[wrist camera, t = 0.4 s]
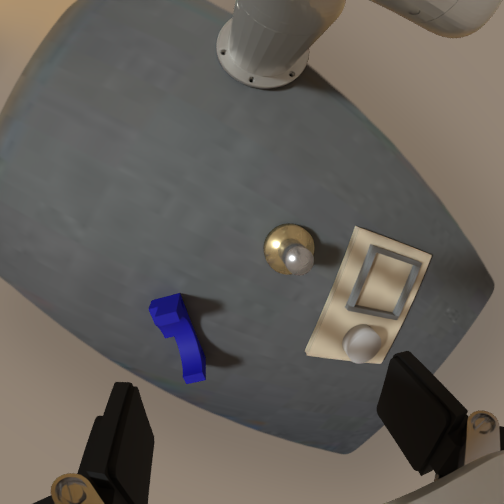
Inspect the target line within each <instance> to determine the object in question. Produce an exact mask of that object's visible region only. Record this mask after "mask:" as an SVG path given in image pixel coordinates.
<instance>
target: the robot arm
mask: <svg viewBox="0 0 504 504" xmlns="http://www.w3.org/2000/svg"><path fill="white" fill-rule="evenodd" d="M370 1H372V2H374V3H376V4H379V5H380V6H383V7H385V8H387V9H389V10H391V11H393V12H395V13H397V14H398V15H400V16H402V17H404V18H406V19H408V20H409V21H411V22H413V23H415V24H417V25H418V26H420V27H422V28H424V29H426V30H428V31H430V32H432V33H434V34H436V35H439V36H442V37H447V38H461V37H465V36H468V35H470V34H472V33H474V32H476V31H477V30H479V29H480V28H481V27H482V26H484V25H485V24H486V23H487V22H488V20H489V19H490V18H491V17H492V16H493V14H494V13H495V12H496V10H497V9H498V7H499V5H500V4H501V2H502V0H370ZM345 3H346V0H236V3H235V8H234V13H233V18H232V19H230V20H229V21H228V22H227V23H226V24H225V25H224V26H223V27H222V29H221V31H220V33H219V35H218V39H217V46H216V47H217V56H218V59H219V62H220V63H221V65H222V67H223V69H224V70H225V71H226V72H227V73H228V74H229V75H230V76H231V77H232V78H234V79H235V80H236V81H238V82H240V83H242V84H244V85H247V86H250V87H254V88H259V89H271V88H278V87H281V86H284V85H286V84H288V83H290V82H292V81H293V80H295V79H296V78H297V77H298V76H299V75H300V74H301V73H302V72H303V70H304V69H305V67H306V65H307V62H308V59H309V47H310V46H311V45H312V44H313V43H314V42H315V41H316V40H317V39H318V38H319V37H320V36H321V35H322V34H323V33H324V32H325V31H326V30H327V29H328V28H329V27H330V26H331V25H332V24H333V23H334V22H335V21H336V20H337V18H338V17H339V16H340V14H341V13H342V11H343V9H344V6H345ZM222 53H225V55H222ZM289 74H291V75H292V77H291V76H289ZM249 80H253V82H250V81H249ZM467 412H468V411H467V409H466V408H465V407H464V406H463V405H462V404H461V403H460V402H459V401H458V400H457V399H456V398H455V397H454V396H453V395H452V394H451V393H450V392H449V391H448V390H447V389H446V388H445V387H444V386H443V385H442V383H441V382H439V380H437V378H436V377H435V376H434V375H433V374H432V373H431V372H430V371H429V370H428V369H427V368H426V367H425V366H424V365H423V364H422V363H421V362H420V361H419V360H418V359H417V358H416V357H415V356H414V355H413V354H412V353H411V352H409V351H405V352H401V353H397V354H395V355H394V356H393V358H392V359H391V360H390V363H389V366H388V370H387V374H386V378H385V381H384V385H383V388H382V392H381V395H380V399H379V402H378V405H377V413H378V415H379V417H380V418H381V420H382V421H383V423H384V425H385V426H386V428H387V429H388V431H389V432H390V434H391V435H392V437H393V438H394V439H395V441H396V443H397V444H398V446H399V447H400V449H401V451H402V452H403V454H404V455H405V457H406V458H407V460H408V461H409V463H410V464H411V466H412V467H413V469H414V470H416V471H419V473H420V475H421V476H422V475H424V474H426V473H428V472H430V471H432V470H434V471H435V473H436V474H435V479H434V482H432V483H430V484H428V485H426V486H424V487H422V488H420V489H418V490H416V491H414V492H411V493H409V494H407V495H404V496H402V497H400V498H397V499H395V500H392V501H390V502H387V503H384V504H504V427H501V426H499V423H498V420H497V418H496V417H495V416H494V415H493V414H492V413H489V412H487V411H476V412H473V413H472V414H470V416H469V417H468V416H467ZM153 449H154V435H153V433H152V429H151V427H150V424H149V421H148V418H147V416H146V412H145V409H144V406H143V403H142V400H141V397H140V393H139V390H138V388H137V387H133V385H132V383H129V382H116V383H115V384H114V386H113V389H112V392H111V394H110V397H109V400H108V403H107V406H106V409H105V412H104V415H103V416H97V417H96V419H95V422H94V424H93V427H92V430H91V433H90V436H89V439H88V442H87V445H86V448H85V451H84V454H83V457H82V461H81V464H80V467H79V470H78V473H77V474H75V473H68V474H64V475H61V476H59V477H58V478H57V479H56V480H55V481H54V482H53V484H52V486H51V496H48V497H46V498H44V499H42V500H40V501H38V502H35V503H33V504H148V495H149V484H150V475H151V466H152V457H153Z"/></svg>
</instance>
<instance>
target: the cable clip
mask: <svg viewBox="0 0 504 504" xmlns="http://www.w3.org/2000/svg"><path fill="white" fill-rule="evenodd" d="M149 311H150V314H151V316H152V318H153V321H154V323H155V325H156V326H157V327H158V328H159V329H160V330H161V332H162V333H163V335H164V337H165V338H169V337H173V336H174V337H175V339H176V342H177V345H178V348H179V351H180V355H181V360H182V366H183V378H184V380H185V382H186V384H189V383H194V382H199V381H203V380H206V357H205V355H204V352H203V350H202V348H201V345H200V343H199V340H198V338H197V335H196V333H195V331H194V328H193V326H192V323H191V320H190V318H189V315H188V313H187V310H186V308H185V305H184V302H183V300H182V297H181V294H180V293H178V294H174V295H170V296H167V297H163V298H159V299H155V300H152V301H151V304H150V306H149Z"/></svg>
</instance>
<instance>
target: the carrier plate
mask: <svg viewBox="0 0 504 504" xmlns="http://www.w3.org/2000/svg"><path fill="white" fill-rule="evenodd" d="M431 256H432V255H430V254H428V253H426V252H423V251H421V250H418V249H416V248H413V247H411V246H408V245H405V244H403V243H400V242H398V241H395V240H392V239H390V238H387V237H384V236H382V235H379V234H376V233H373V232H371V231H368V230H365V229H362V228H360V227H357V226H355V228H354V231H353V234H352V237H351V240H350V242H349V245H348V248H347V250H346V253H345V256H344V258H343V261H342V264H341V266H340V269H339V271H338V274H337V276H336V279H335V281H334V284H333V286H332V289H331V291H330V294H329V296H328V299H327V301H326V303H325V306H324V308H323V311H322V313H321V315H320V318H319V320H318V322H317V325H316V327H315V329H314V331H313V334H312V336H311V338H310V340H309V342H308V345H307V347H306V349H305V352H306V354H307V356H315V357H322V358H330V359H338V360H347V361H352V362H354V363H365V362H366V363H378V364H381V363H382V361H383V359H384V358H385V356H386V354H387V352H388V350H389V348H390V347H391V345H392V343H393V341H394V339H395V337H396V335H397V333H398V331H399V329H400V327H401V325H402V323H403V321H404V319H405V317H406V315H407V313H408V311H409V308H410V306H411V304H412V302H413V300H414V297H415V295H416V293H417V291H418V288H419V286H420V284H421V281H422V279H423V277H424V274H425V272H426V269H427V267H428V264H429V262H430V259H431Z"/></svg>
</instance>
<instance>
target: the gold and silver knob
mask: <svg viewBox="0 0 504 504" xmlns="http://www.w3.org/2000/svg"><path fill="white" fill-rule="evenodd" d="M264 255H265V258H266V260H267V262H268V264H269V265H270V266H271V268H273V269H274V270H275V271H277V272H279V273H282V274H294V275H304V274H306V273H308V272H309V271H310V270H311V268H312V267H313V264H314V257H313V255H314V242H313V239H312V237H311V235H310V234H309V233H308V232H307V231H306V230H305V229H303V228H302V227H300V226H299V225H296V224H290V223H288V224H282V225H279V226H277V227H275V228H274V229H273V230H272V231H271V232H270V233H269V234H268V235H267V237H266V239H265V242H264Z"/></svg>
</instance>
